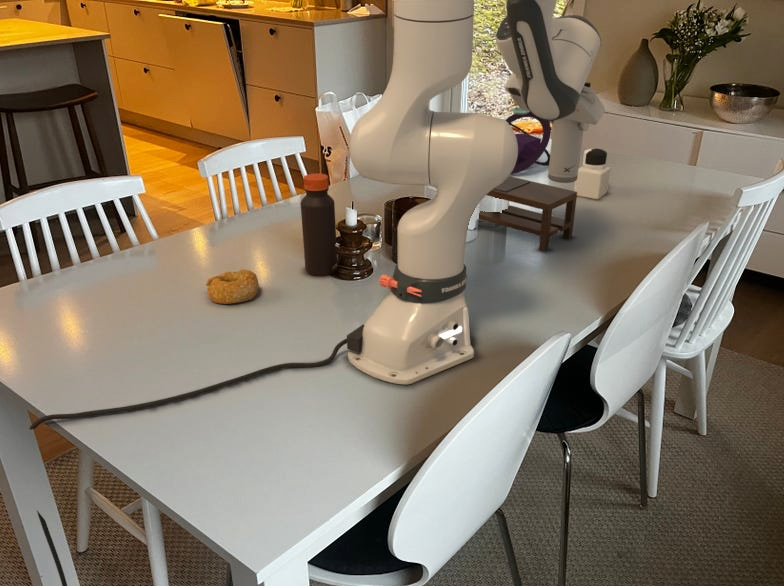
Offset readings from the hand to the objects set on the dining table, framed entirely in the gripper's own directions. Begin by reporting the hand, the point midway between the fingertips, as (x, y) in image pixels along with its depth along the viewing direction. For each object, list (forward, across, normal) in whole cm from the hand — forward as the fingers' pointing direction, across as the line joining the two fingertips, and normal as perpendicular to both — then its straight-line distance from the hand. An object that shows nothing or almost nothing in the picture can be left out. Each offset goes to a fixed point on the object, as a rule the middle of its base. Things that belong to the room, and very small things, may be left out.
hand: (570, 124), depth 156 cm
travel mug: (+8, 0, +9) cm, 12 cm away
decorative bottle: (+50, +49, -11) cm, 71 cm away
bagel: (-29, +26, +68) cm, 78 cm away
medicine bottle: (+46, +18, -7) cm, 50 cm away
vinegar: (-14, +25, +53) cm, 60 cm away
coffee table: (+20, +12, +19) cm, 30 cm away
